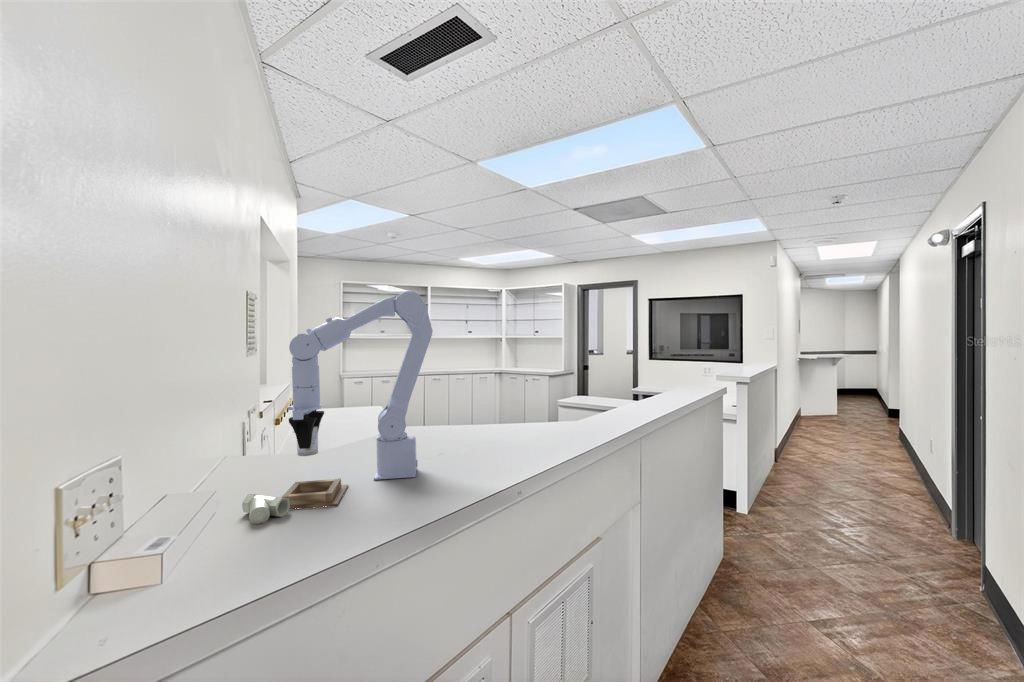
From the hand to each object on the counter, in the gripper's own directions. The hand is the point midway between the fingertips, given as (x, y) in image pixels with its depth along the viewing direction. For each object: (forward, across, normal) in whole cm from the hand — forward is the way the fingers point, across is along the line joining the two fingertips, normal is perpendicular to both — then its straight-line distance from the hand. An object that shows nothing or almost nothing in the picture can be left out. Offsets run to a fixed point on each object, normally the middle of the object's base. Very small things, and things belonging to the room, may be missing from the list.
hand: (308, 445), depth 108 cm
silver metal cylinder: (+2, 0, 0) cm, 2 cm away
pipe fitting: (+9, +20, -4) cm, 22 cm away
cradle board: (+9, +11, +4) cm, 15 cm away
